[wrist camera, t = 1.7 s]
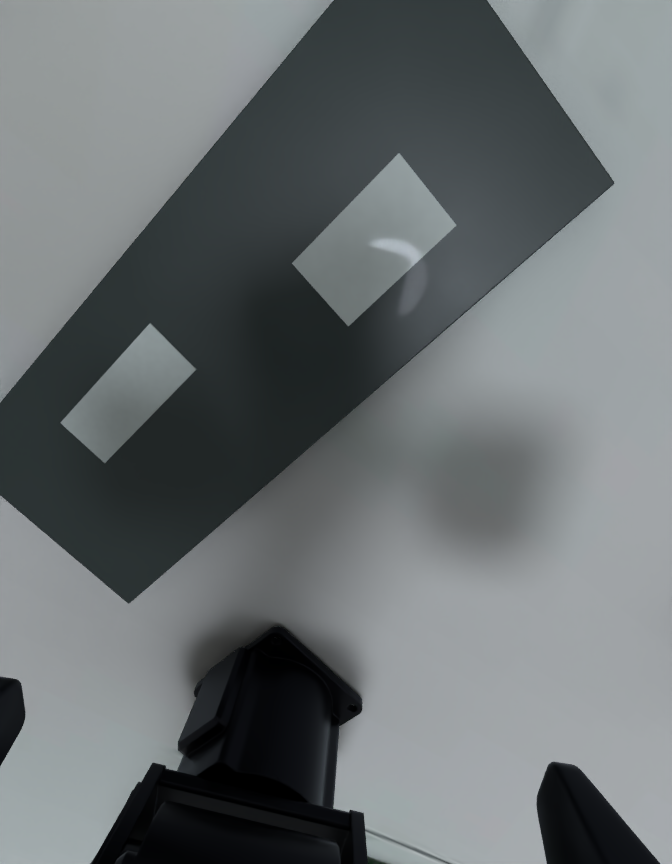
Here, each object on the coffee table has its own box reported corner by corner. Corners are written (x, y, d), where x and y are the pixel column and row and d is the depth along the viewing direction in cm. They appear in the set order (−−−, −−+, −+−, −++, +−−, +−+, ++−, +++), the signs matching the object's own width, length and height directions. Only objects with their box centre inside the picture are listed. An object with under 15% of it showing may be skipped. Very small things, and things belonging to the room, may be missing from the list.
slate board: (601, 188, 16) (616, 182, 15) (138, 590, 23) (127, 605, 22) (414, -76, 14) (417, -103, 13) (-27, 449, 21) (-47, 457, 20)
